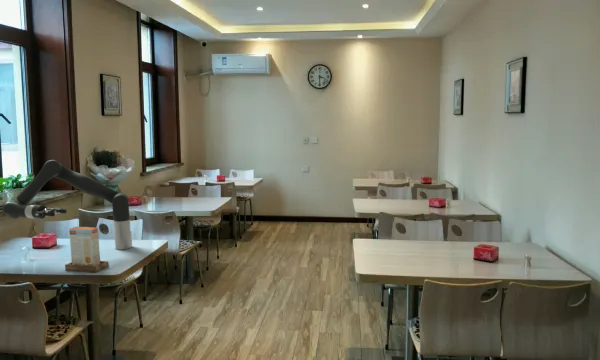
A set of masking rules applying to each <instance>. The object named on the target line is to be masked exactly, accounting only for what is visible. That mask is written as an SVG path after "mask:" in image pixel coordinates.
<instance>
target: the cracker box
mask: <svg viewBox="0 0 600 360" xmlns="http://www.w3.org/2000/svg"><path fill="white" fill-rule="evenodd" d="M68 230H69V231H68V232H69V244H70V260H71V262H72V265H81V266H94V267H95V266H97V265H100V261H101V253H100V238H99V227H92V226H91V227H90V226H73V227H70V228H69V229H68Z"/></svg>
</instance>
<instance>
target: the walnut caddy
mask: <svg viewBox="0 0 600 360" xmlns="http://www.w3.org/2000/svg"><path fill="white" fill-rule="evenodd" d="M64 268H65V269H64V270H65V271H70V272H81V273H82V272H83V273H92V274H93V273H95V274H96V273H98V272H100V271H103V270H105V269H107V268H109V261H107V260H100V265H97V266H95V267H94V266H81V265H72V261H71V262H68V263H66V264H64Z"/></svg>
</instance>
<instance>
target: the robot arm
mask: <svg viewBox="0 0 600 360" xmlns="http://www.w3.org/2000/svg"><path fill="white" fill-rule="evenodd" d="M53 177H54V178H56V179H59V180H61V181H64V182H66V183H68V184H69V185H71V186H72V187H73V188H75V189H77V190H79V191H81V192H83V193H85V194H87V195H89V196H93V197H96V198H101V199H102V200H105V201H106V202H109V203H110V204H112V205H111V207H112V218H113V228H114V229H113V231H114V245H115V246H114V248H115V249H116V250H128V249H131V248H132V247H133V241H132V240H133V237H132V235H133V234H132V231H131V219H130V217H131V216H130V206H129V205H130V204H129V203H130V202H129V201H130V199H129V197H128V196H127V195H126V193H123V192H120V191H118V190H114V189H112V188H109V187H107V186H106V185H104V184H103V183H101V182H100V181H97V180H95V179H94V178H92V177H90V176H87V175H85V174H83V173H79V172H78V171H77V172H76V171H74V170H72V169H70V168H68V167H66V166H64V165H63V164H62V163H60V162H59V161H57V160H55V159H51V160H47V161H46V162H45V163H44V164H43V166H42V168H41V169H40V170H39V172H38V174H37V175H36V176H35V177H34V178H33V179H32V180H31V181H30V182H29V183H28V184H27V186H26V187H24V188H23V190H21V192H20V193H19V194H18V195H17V196H16V197H15V198H16V200H17V202H11V201H10V202H6V203H5V204H4V205H3V206H2V208H1V209H2V213H4V214H5V215H6V216H8V217H10V218H12V219H14V220H16V219H19V218H27V219H37V220H40V219H41V220H43V219H45V218H47V217H55V216H56V215H57V214H67V209H63V207H52V208H51V207H48V206H46V205H44V204H30V202H31V201H32V200H33V199H34V198H35V197H36V196H37V194H38V193H40V191H41V189H42V188H43V187H44V186H45V185H46V183H47V182H48V181H50V180H51V179H52V178H53Z"/></svg>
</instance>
